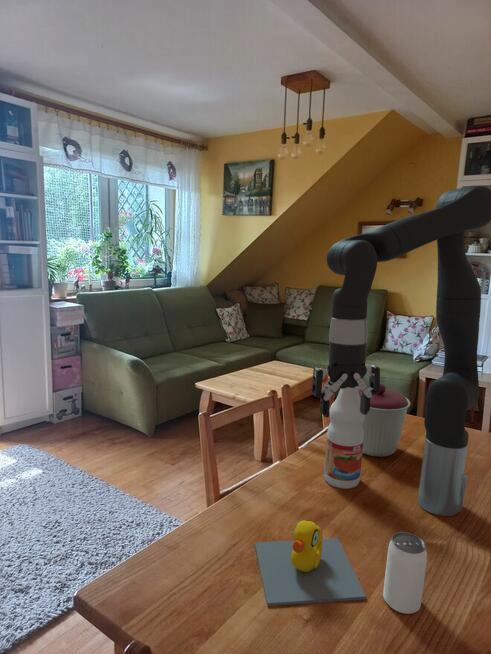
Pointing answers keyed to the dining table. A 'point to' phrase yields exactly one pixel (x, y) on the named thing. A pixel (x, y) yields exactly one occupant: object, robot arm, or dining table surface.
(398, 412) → the canister
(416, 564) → the can
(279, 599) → the mat
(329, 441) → the fruit juice
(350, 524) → the dining table surface
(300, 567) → the duckling
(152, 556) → the dining table surface
